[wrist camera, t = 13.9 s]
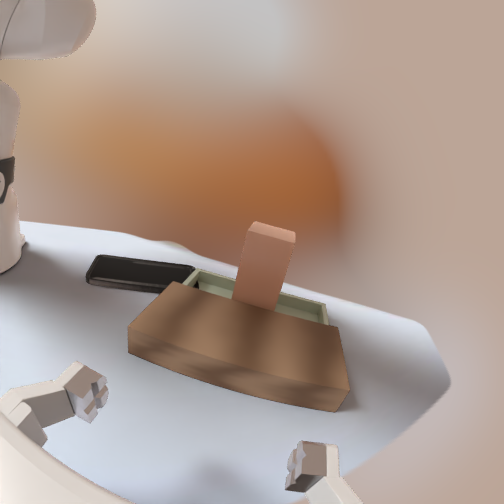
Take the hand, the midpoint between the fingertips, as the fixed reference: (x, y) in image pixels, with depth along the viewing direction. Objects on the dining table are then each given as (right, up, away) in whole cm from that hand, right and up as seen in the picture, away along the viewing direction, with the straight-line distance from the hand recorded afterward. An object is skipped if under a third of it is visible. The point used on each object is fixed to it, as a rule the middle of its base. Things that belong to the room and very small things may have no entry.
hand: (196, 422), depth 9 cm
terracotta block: (+2, 0, +25) cm, 25 cm away
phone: (-13, +3, +27) cm, 30 cm away
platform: (+1, -3, +17) cm, 17 cm away
